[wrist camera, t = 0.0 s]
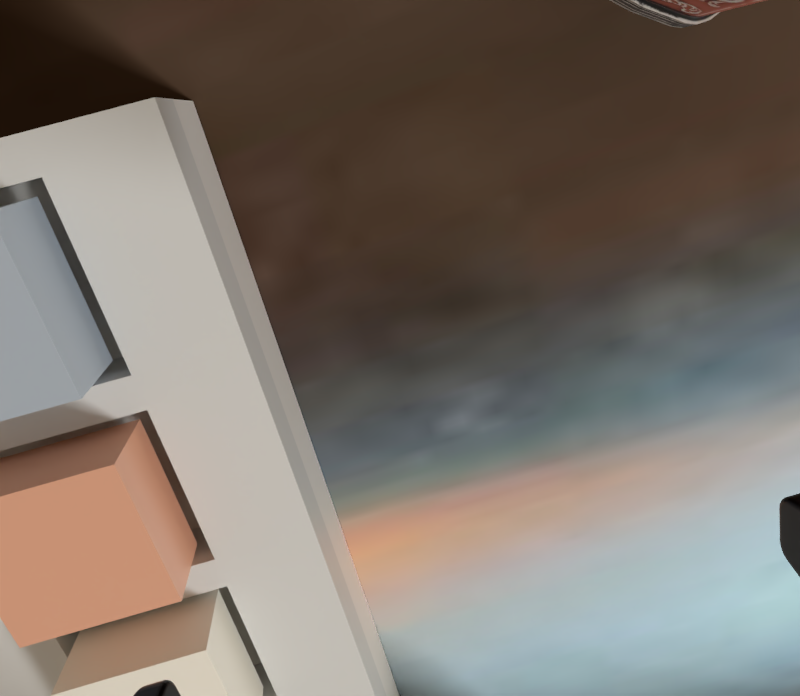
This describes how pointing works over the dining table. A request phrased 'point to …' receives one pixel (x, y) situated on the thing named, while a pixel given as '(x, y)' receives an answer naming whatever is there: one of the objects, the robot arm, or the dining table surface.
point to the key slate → (42, 318)
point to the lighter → (681, 9)
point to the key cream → (163, 653)
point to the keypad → (193, 394)
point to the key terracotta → (88, 534)
